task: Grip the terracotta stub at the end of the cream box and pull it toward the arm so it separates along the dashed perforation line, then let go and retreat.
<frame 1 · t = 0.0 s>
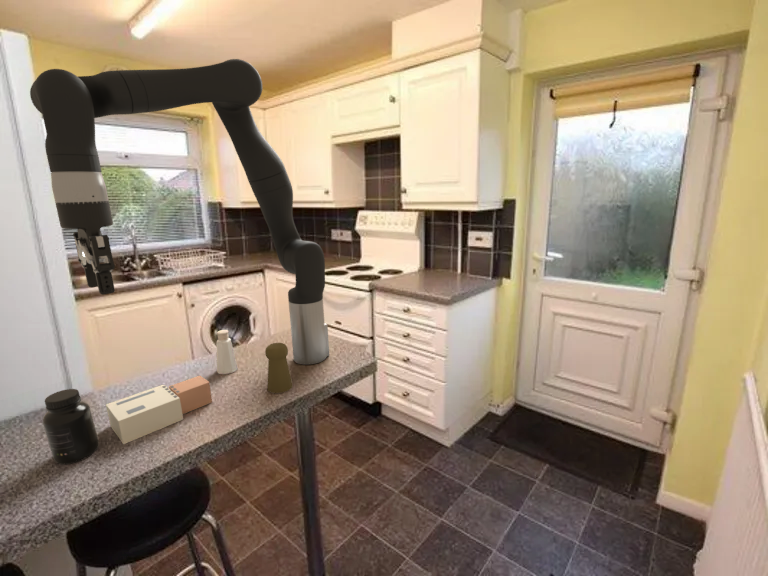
hand: (101, 289, 73), 29 cm above the countertop, fingers open, 8 cm apart
stub: (190, 394, 88), point 3 cm above the countertop, slide at 0.0 cm
salt shaker: (227, 370, 106), on the countertop
brown pawn: (280, 387, 96), on the countertop
supplement bottle: (77, 454, 73), on the countertop
cream box: (147, 422, 82), on the countertop
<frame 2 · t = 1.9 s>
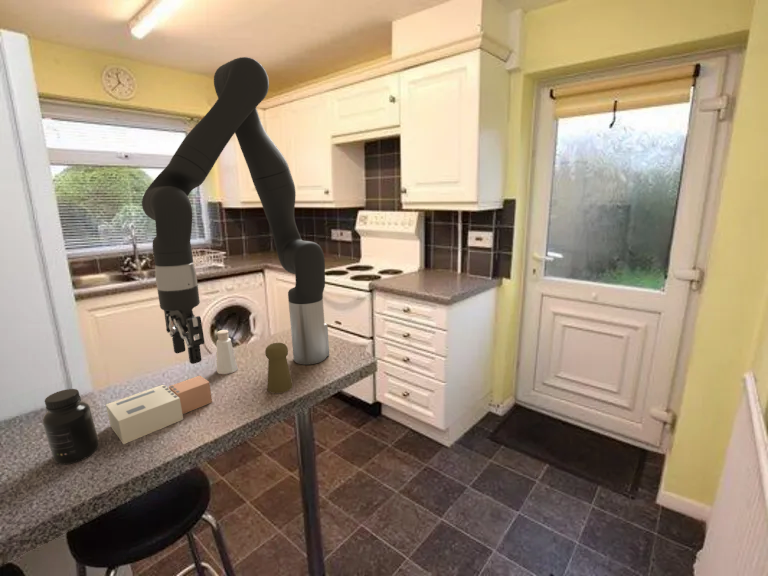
hand: (187, 357, 86), 11 cm above the countertop, fingers open, 8 cm apart
nothing on the countertop moved.
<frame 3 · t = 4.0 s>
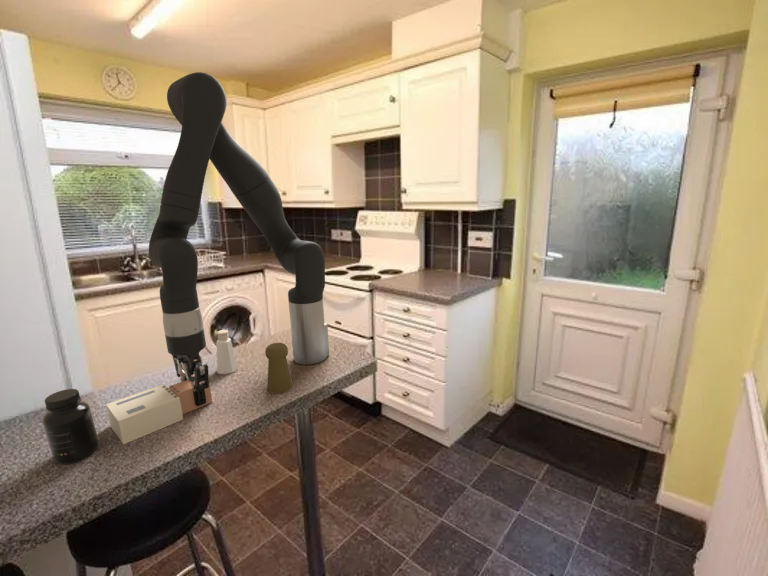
hand: (195, 399, 89), 1 cm above the countertop, fingers closed on stub, 5 cm apart
stub: (190, 394, 88), point 3 cm above the countertop, slide at 0.0 cm, touching gripper
everything else where it was.
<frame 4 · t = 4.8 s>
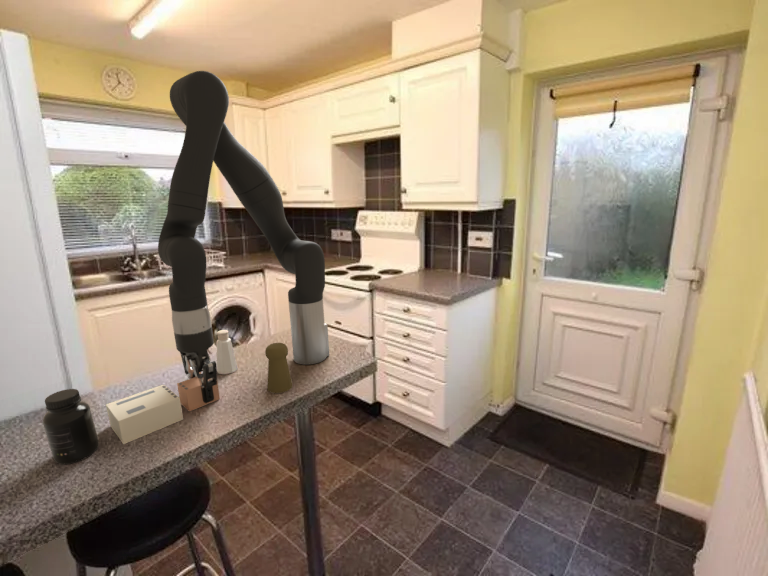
hand: (203, 396, 90), 1 cm above the countertop, fingers closed on stub, 5 cm apart
stub: (198, 391, 89), point 3 cm above the countertop, slide at 1.8 cm, touching gripper
everything else where it was.
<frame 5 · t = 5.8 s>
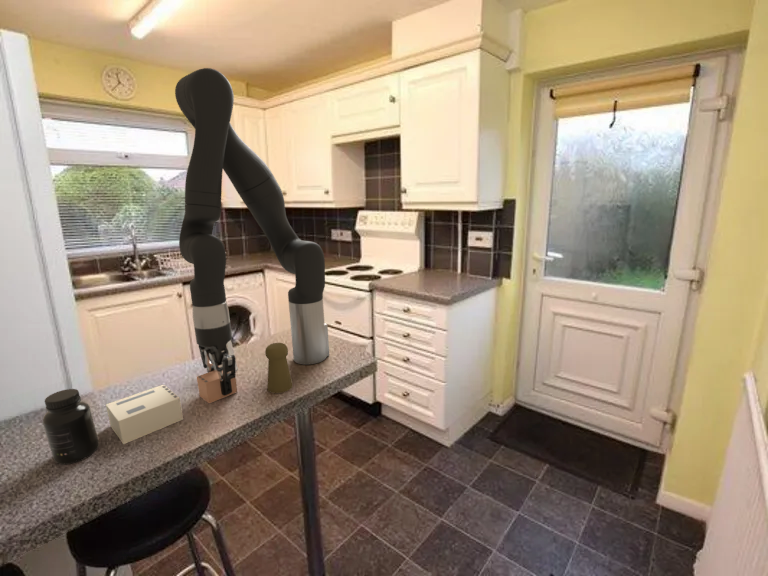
hand: (221, 389, 93), 1 cm above the countertop, fingers closed on stub, 5 cm apart
stub: (217, 384, 92), point 3 cm above the countertop, slide at 6.0 cm, touching gripper
everything else where it was.
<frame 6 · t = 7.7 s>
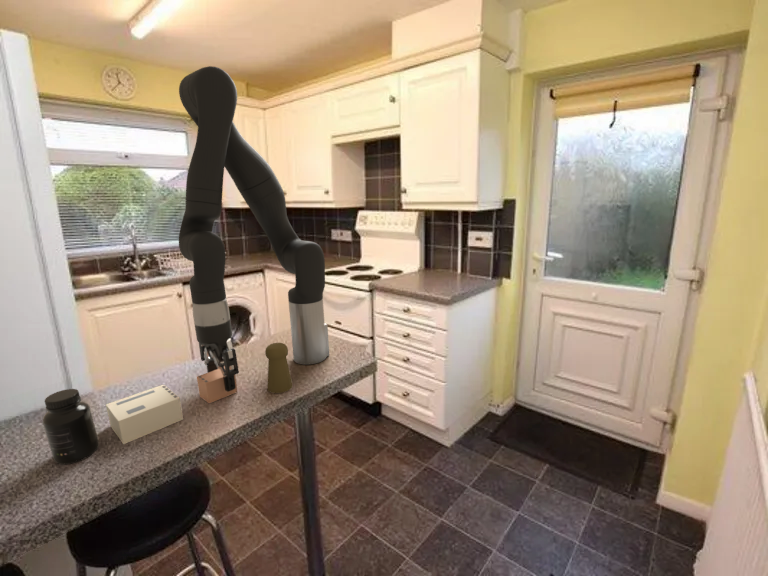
hand: (221, 384, 93), 2 cm above the countertop, fingers open, 8 cm apart
stub: (217, 384, 92), point 3 cm above the countertop, slide at 6.1 cm
everything else where it was.
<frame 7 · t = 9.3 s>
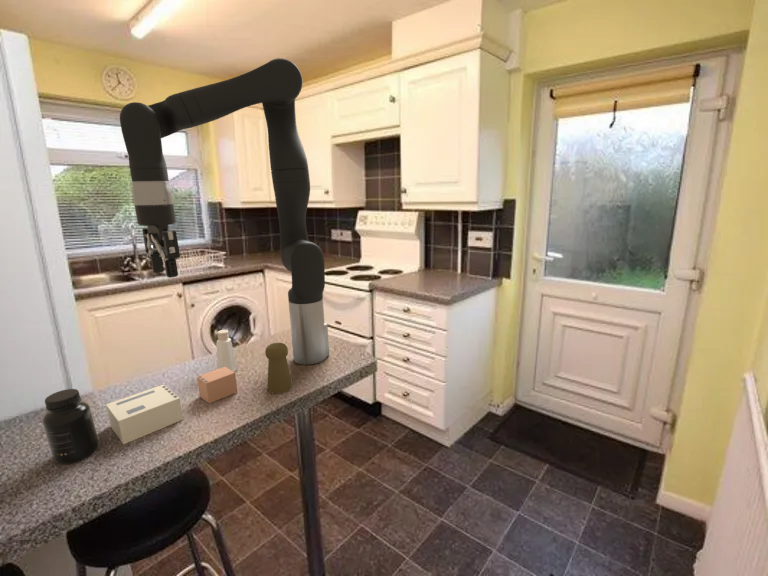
hand: (165, 274, 91), 28 cm above the countertop, fingers open, 8 cm apart
nothing on the countertop moved.
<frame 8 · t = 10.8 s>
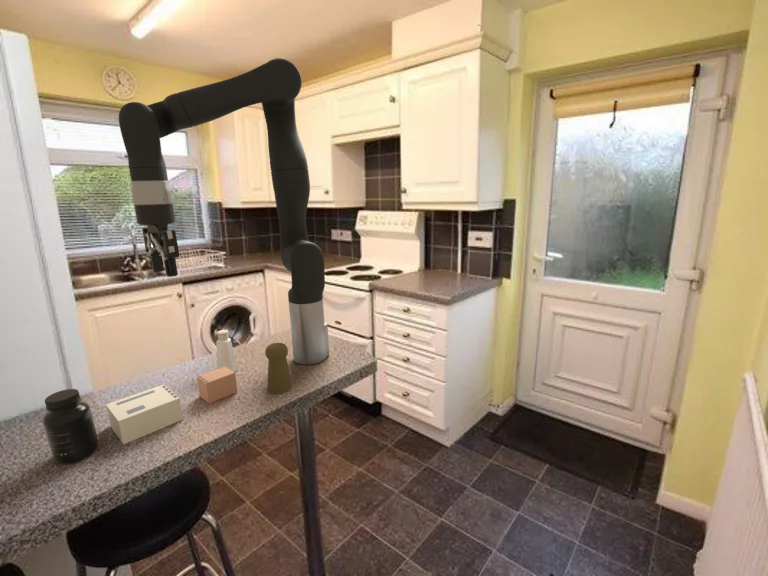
hand: (165, 273, 92), 28 cm above the countertop, fingers open, 8 cm apart
nothing on the countertop moved.
at the end: stub slide at 6.1 cm; the gripper is holding nothing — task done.
